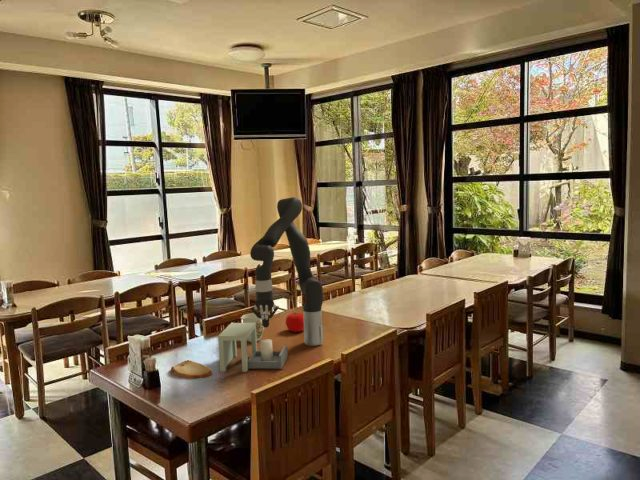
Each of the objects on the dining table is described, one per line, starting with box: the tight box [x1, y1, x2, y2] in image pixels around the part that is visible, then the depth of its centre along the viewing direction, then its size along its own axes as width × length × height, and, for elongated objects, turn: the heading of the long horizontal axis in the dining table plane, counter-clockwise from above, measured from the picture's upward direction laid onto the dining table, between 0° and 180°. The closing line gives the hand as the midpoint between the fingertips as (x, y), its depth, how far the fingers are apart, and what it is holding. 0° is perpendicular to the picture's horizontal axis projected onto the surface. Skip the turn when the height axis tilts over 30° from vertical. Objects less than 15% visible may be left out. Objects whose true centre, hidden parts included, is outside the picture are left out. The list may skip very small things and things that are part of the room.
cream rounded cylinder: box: [259, 338, 274, 361], centre depth 219 cm, size 5×5×9 cm
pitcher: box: [240, 312, 266, 343], centre depth 254 cm, size 11×18×14 cm, turn 144°
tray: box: [248, 344, 288, 370], centre depth 219 cm, size 16×15×6 cm
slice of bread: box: [170, 359, 213, 380], centre depth 212 cm, size 18×18×4 cm
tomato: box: [285, 312, 304, 333], centre depth 267 cm, size 12×12×10 cm
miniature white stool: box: [217, 322, 258, 373], centre depth 220 cm, size 12×20×16 cm, turn 174°
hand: (265, 326), depth 218 cm, fingers closed
